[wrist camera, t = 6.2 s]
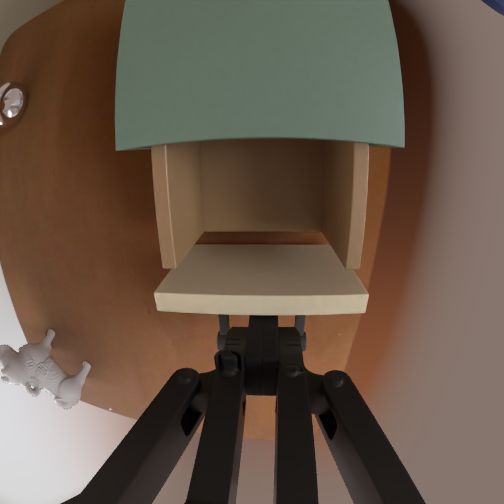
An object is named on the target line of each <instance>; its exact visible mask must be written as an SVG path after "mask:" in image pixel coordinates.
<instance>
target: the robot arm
mask: <svg viewBox="0 0 504 504" xmlns="http://www.w3.org/2000/svg"><path fill="white" fill-rule="evenodd" d="M214 360H215V366H216V369H215V370H213V371H211V372H207V373H200V374H199V373H198V372H197V371H196V370H194V369H192V368H182V369H179V370H177V371H176V372H175V373H173V375H172V376H171V377H170V379H169V380H168V381H167V383H166V384H165V385H164V387H163V388H162V389H161V390H160V392H159V393H158V394H157V396H156V397H155V398H154V400H153V401H152V402H151V404H150V405H149V406H148V408H147V409H146V410H145V411H144V413H143V414H142V415H141V417H140V418H139V419H138V421H137V422H136V423H135V425H134V426H133V427H132V428H131V430H130V431H129V432H128V434H127V435H126V436H125V437H124V439H123V440H122V441H121V443H120V444H119V445H118V446H117V448H116V449H115V450H114V452H113V453H112V455H110V457H109V458H108V459H107V461H106V462H105V463H104V464H103V466H102V467H101V468H100V469H99V471H98V472H97V473H96V475H95V476H94V477H93V478H92V480H91V481H90V482H89V484H88V485H87V486H86V488H85V489H84V490H83V491H82V492H81V494H79V495H77V496H75V497H73V498H71V499H69V500H67V501H65V502H63V503H61V504H152V502H153V501H154V499H155V498H156V496H157V495H158V493H159V491H160V490H161V488H162V487H163V485H164V483H165V482H166V480H167V479H168V477H169V475H170V473H171V472H172V471H173V469H174V467H175V466H176V464H177V462H178V460H179V459H180V457H181V456H182V454H183V452H184V451H185V449H186V447H187V445H188V444H189V442H190V440H191V439H192V437H193V435H194V434H195V432H196V430H197V428H198V427H199V425H200V423H201V421H202V420H203V418H204V416H205V419H204V423H203V428H202V432H201V437H200V441H199V446H198V450H197V455H196V459H195V464H194V468H193V473H192V477H191V482H190V486H189V491H188V495H187V499H186V502H185V504H236V495H237V486H238V476H239V468H240V457H241V448H242V440H243V430H244V420H245V411H246V395H266V396H276V407H275V412H276V421H275V469H274V499H273V504H318V489H317V473H316V462H315V461H316V460H315V448H314V436H313V425H312V415H311V413H312V414H315V417H316V419H317V421H318V424H319V426H320V428H321V430H322V433H323V435H324V437H325V440H326V442H327V444H328V446H329V449H330V451H331V453H332V455H333V458H334V460H335V462H336V465H337V467H338V469H339V471H340V474H341V476H342V478H343V480H344V483H345V485H346V487H347V489H348V492H349V494H350V496H351V498H352V500H353V503H354V504H426V503H425V502H424V500H423V498H422V497H421V495H420V493H419V491H418V490H417V488H416V486H415V484H414V483H413V481H412V479H411V477H410V476H409V474H408V472H407V471H406V469H405V467H404V466H403V464H402V463H401V461H400V459H399V457H398V455H397V454H396V452H395V451H394V449H393V447H392V445H391V444H390V442H389V441H388V439H387V437H386V435H385V434H384V432H383V431H382V429H381V427H380V426H379V424H378V423H377V421H376V419H375V417H374V416H373V414H372V413H371V411H370V410H369V408H368V406H367V405H366V403H365V401H364V400H363V398H362V396H361V395H360V393H359V391H358V390H357V388H356V386H355V385H354V383H353V382H352V380H351V378H350V377H349V376H348V375H347V374H346V373H344V372H342V371H338V370H333V371H329V372H327V373H326V374H325V375H324V376H323V375H318V374H314V373H312V372H310V371H308V370H307V369H306V368H305V366H304V363H303V355H302V347H301V339H300V332H299V331H298V330H297V329H296V327H278V315H250V318H249V326H248V327H232V328H231V329H230V330H229V331H228V332H227V336H226V340H225V345H224V349H223V350H220V351H218V352H217V353H216V354H215V356H214ZM205 414H206V415H205Z"/></svg>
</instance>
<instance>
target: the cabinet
mask: <svg viewBox="0 0 504 504" xmlns="http://www.w3.org/2000/svg"><path fill="white" fill-rule="evenodd" d="M402 90H403V89H402V78H401V69H400V61H399V53H398V47H397V40H396V35H395V29H394V25H393V20H392V15H391V11H390V7H389V2H388V0H126V1H125V6H124V12H123V18H122V24H121V31H120V39H119V48H118V58H117V70H116V89H115V144H116V151H123V150H146V149H151V146H158V145H166V144H175V143H184V142H195V141H209V140H225V139H256V138H284V139H315V140H331V141H344V142H355V143H365V144H369V147H396V148H404V103H403V91H402Z"/></svg>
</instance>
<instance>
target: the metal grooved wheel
mask: <svg viewBox="0 0 504 504" xmlns="http://www.w3.org/2000/svg"><path fill="white" fill-rule="evenodd" d="M26 100H27V96H26V91H25V88H24V87H23V85H22V84H21V83H19V82H16V81H11V82H8V83H5V84H3V85H0V128H2V127H7V126H10V125H13V124H14V123H15V122H17V121H18V120H19V118H20V117H21V116H22V114H23V112H24V109H25V106H26ZM3 101H4V102H5V108H4V110H2V102H3Z"/></svg>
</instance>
